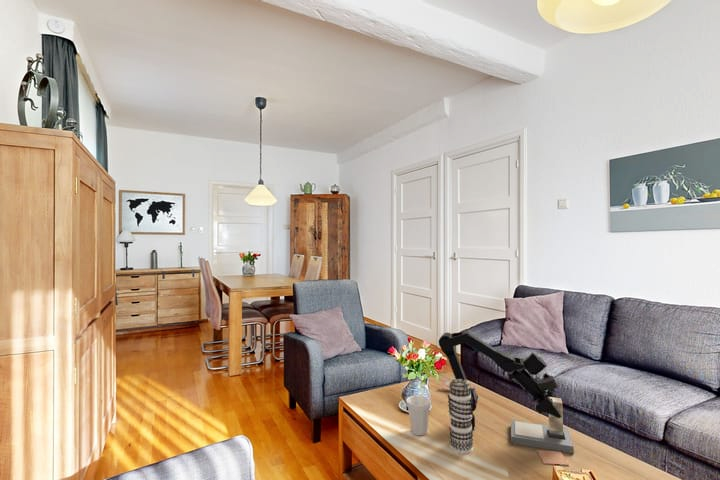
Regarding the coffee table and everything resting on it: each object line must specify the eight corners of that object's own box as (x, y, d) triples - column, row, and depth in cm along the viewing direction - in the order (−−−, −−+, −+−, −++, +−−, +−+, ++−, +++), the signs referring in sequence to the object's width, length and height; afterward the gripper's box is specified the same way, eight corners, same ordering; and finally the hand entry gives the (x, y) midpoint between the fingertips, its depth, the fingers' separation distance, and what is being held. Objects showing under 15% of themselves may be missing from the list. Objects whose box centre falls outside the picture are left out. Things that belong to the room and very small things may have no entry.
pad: (543, 464, 129) (543, 462, 129) (537, 451, 137) (537, 450, 137) (568, 465, 128) (568, 464, 128) (560, 452, 135) (560, 451, 135)
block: (549, 432, 142) (549, 401, 142) (548, 427, 146) (548, 396, 146) (563, 435, 140) (562, 403, 140) (561, 429, 144) (561, 398, 144)
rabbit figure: (471, 394, 191) (443, 384, 199) (473, 383, 190) (444, 374, 198) (468, 399, 186) (439, 389, 193) (469, 387, 185) (441, 378, 193)
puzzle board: (511, 442, 143) (510, 435, 143) (511, 425, 156) (510, 418, 156) (573, 453, 135) (573, 445, 135) (568, 434, 148) (568, 427, 148)
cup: (412, 424, 159) (411, 393, 159) (435, 429, 154) (434, 398, 154) (403, 435, 150) (402, 402, 150) (426, 441, 145) (425, 407, 145)
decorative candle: (471, 456, 134) (469, 387, 134) (446, 450, 139) (444, 383, 139) (476, 444, 142) (475, 379, 142) (452, 438, 147) (451, 375, 147)
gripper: (545, 377, 136) (580, 412, 132) (541, 361, 153) (572, 392, 149) (522, 396, 139) (555, 430, 135) (520, 378, 156) (550, 408, 152)
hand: (559, 414), depth 143 cm, fingers closed on block, 4 cm apart
